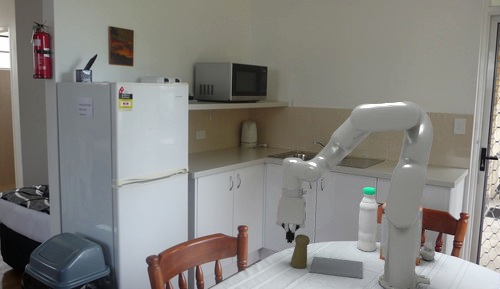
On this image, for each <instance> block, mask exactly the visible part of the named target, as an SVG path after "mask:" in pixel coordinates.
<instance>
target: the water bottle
mask: <svg viewBox="0 0 500 289" xmlns="http://www.w3.org/2000/svg"><path fill="white" fill-rule="evenodd" d="M362 193H363V197H362V200H361V201H360V203H359V215H358V232H357V233H358V234H357V235H358V236H357V238H358V240H357V248H358V249H359V250H360V251H363V252H373V251H375V250H376V249H377V248H376V246H377V242H376V241H377V228H378V227H377V226H378V209H379V205H378V203H377V200H376V198H375V196H376V194H377V190H376V188H375V187H371V186H367V187H363V191H362Z"/></svg>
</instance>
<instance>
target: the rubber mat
mask: <svg viewBox="0 0 500 289" xmlns="http://www.w3.org/2000/svg"><path fill="white" fill-rule="evenodd" d="M363 264H364V263H363V261H359V260H349V259H342V258H341V259H340V258H331V257H324V256H316V255H314V256H313V257H312V261H311V264H310V267H309V270H308V273H312V274H319V275H326V276H333V277H334V276H336V277H344V278H351V279H353V278H354V279H359V280H361V279H362V280H363V271H364V270H363V268H364V267H363Z"/></svg>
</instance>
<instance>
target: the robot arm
mask: <svg viewBox="0 0 500 289" xmlns="http://www.w3.org/2000/svg"><path fill="white" fill-rule="evenodd" d="M400 131H401V132H402V131H403V133H404V134H403V140H402V144H401V150H400V154H399V160H398V162H397V165H396V166H395V168H394V169H393V172H392V175H391V179H390V182H389V187H388V188H389V189H388V192H387V197H386V201H385V203H386V205H385V216H386V218H387V230H386V246H385V259H384V264H383V265H384V268H383V274H381V275H379V277H378V283H379V285H380V286H381V287H382V288H384V289H420V284H423V285H431V278H428V277H426V275H419V274H418V273H416V265H415V263H416V248H417V236H418V222H419V212H420V207H421V204H422V200H423V195H424V190H425V187H426V182H427V175H428V172H427V170H428V166H429V165H428V164H429V160H430V155H431V151H432V145H433V140H434V128H433V124H432V120H431V117H430V116H429V114H428V113H427V112H426V111H425V110H424V109H423V108H422V107H421V106H419V105H418V104H417V103H415V102H413V101H409V100H408V101H407V100H404V101H403V100H402V101H399V102H398V101H397V102H385V103H363V104H359V105H356V107H354V108H353V110H352V111H351V113H350V115H349V117H348V118H347V119H346V120H345V121H344V122H343V123H342V124H341V125H339V127H338V128H337V129H336V130H335V131H334V132H332V134H331V137H330V139H329V141H328V143H327V144H326V145H325V146H324V147H323V148H322V149H321V150H320V151H319V152H318V153H317V154H316V155H315V156H314V157H313V158H312V159H310V160H306V161H305V160H303V159H302V158H300V157H285V158H284V159H283V160H282V171H281V173H282V174H281V193H280V194H279V197H278V202H277V210H276V211H277V212H276V221H275V224H276V226H279V227H281V228H283V229H284V230H285V240H287V241H286V242H287V244H289V243H290V244H292V243H293V241H295V238H296V235H295V234H296V231H298V230H299V229H305V228H306V226H307V224H306V218H307V204H306V196H305V195H307V194H308V190H306V189H304V182H306V183H310V184H313V183H316V182H319V181H320V180H322V179H323V178H325V177H326V176H327V175H328V174H329V173H330V172H331V171H332V170H333V169H334V168H335V167H336V166H337V165H338V164H339V163H340V162H341V161H342V160H343V159H344V158H345V157H347V156H348V155H350V153H352V151H353V150H354V149H355V148H357V146H358V145H359V144H360V143H361V142H363V140H364V139H365V138H367V137H368V136H369V135H370V134H371V133H373V132H374V133H377V132H380V133H381V132H400ZM290 225H292V227H291V228H290Z"/></svg>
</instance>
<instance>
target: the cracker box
mask: <svg viewBox="0 0 500 289" xmlns="http://www.w3.org/2000/svg"><path fill="white" fill-rule="evenodd" d="M385 205H386V202H384V203H383V205H382V206H381V207H382V208H381V224H380V225H381V227H380V243H379V244H380V246H379V259H381V260H385V246H386V230H387V218H386V216H385ZM423 208H424V207H423V206H420V212H419V222H418V236H417V248H416V263H415V266H419V265H420V259H421V256H420V251H421V247H422V246H421V245H422V228H423V211H424V209H423Z"/></svg>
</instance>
